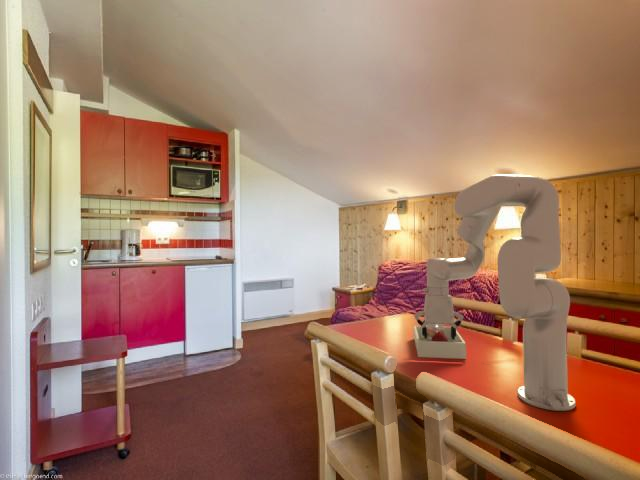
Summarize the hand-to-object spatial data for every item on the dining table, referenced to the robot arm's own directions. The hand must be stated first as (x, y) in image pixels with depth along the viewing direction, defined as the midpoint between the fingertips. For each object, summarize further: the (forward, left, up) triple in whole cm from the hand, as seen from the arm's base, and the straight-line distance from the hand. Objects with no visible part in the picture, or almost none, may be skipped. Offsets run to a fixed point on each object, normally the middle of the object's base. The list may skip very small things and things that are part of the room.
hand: (439, 338), depth 126 cm
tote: (+5, 0, -6) cm, 8 cm away
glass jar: (+11, 0, -5) cm, 12 cm away
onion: (0, 0, -5) cm, 5 cm away
